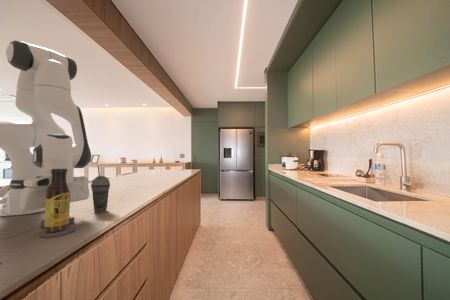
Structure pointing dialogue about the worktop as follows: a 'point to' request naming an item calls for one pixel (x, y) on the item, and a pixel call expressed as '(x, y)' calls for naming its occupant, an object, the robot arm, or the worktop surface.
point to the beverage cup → (100, 193)
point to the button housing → (71, 220)
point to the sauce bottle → (57, 202)
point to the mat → (58, 232)
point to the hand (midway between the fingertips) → (58, 217)
